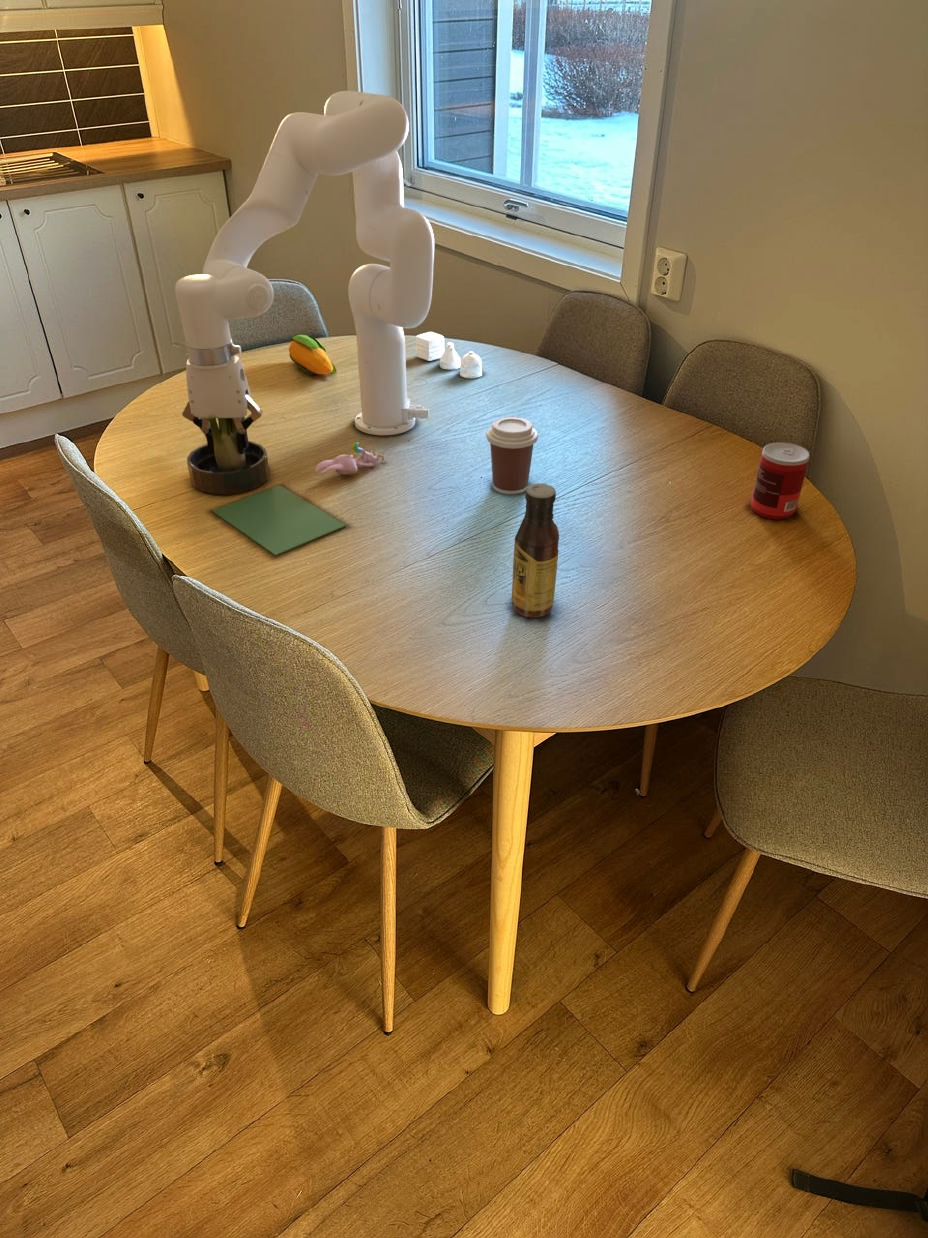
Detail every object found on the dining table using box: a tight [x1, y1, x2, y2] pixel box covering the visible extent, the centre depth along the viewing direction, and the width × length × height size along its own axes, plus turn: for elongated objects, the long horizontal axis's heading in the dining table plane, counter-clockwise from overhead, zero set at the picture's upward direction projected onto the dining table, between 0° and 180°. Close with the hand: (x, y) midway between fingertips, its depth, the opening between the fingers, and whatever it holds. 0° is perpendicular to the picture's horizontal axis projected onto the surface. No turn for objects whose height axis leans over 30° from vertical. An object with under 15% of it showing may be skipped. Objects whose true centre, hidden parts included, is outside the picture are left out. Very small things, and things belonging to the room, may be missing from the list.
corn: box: [288, 334, 338, 375], centre depth 206 cm, size 7×8×20 cm
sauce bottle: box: [511, 482, 560, 619], centre depth 123 cm, size 7×6×20 cm
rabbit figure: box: [314, 441, 386, 476], centre depth 163 cm, size 6×6×15 cm
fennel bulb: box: [208, 416, 246, 472], centre depth 159 cm, size 6×5×12 cm
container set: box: [415, 331, 483, 379], centre depth 209 cm, size 20×5×6 cm, turn 42°
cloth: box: [211, 484, 347, 557], centre depth 150 cm, size 20×14×1 cm
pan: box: [186, 440, 271, 496], centre depth 161 cm, size 14×14×4 cm
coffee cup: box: [485, 416, 539, 495], centre depth 157 cm, size 9×9×12 cm
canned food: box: [750, 441, 811, 520], centre depth 150 cm, size 8×8×11 cm
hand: (229, 449), depth 160 cm, fingers closed on fennel bulb, 4 cm apart
